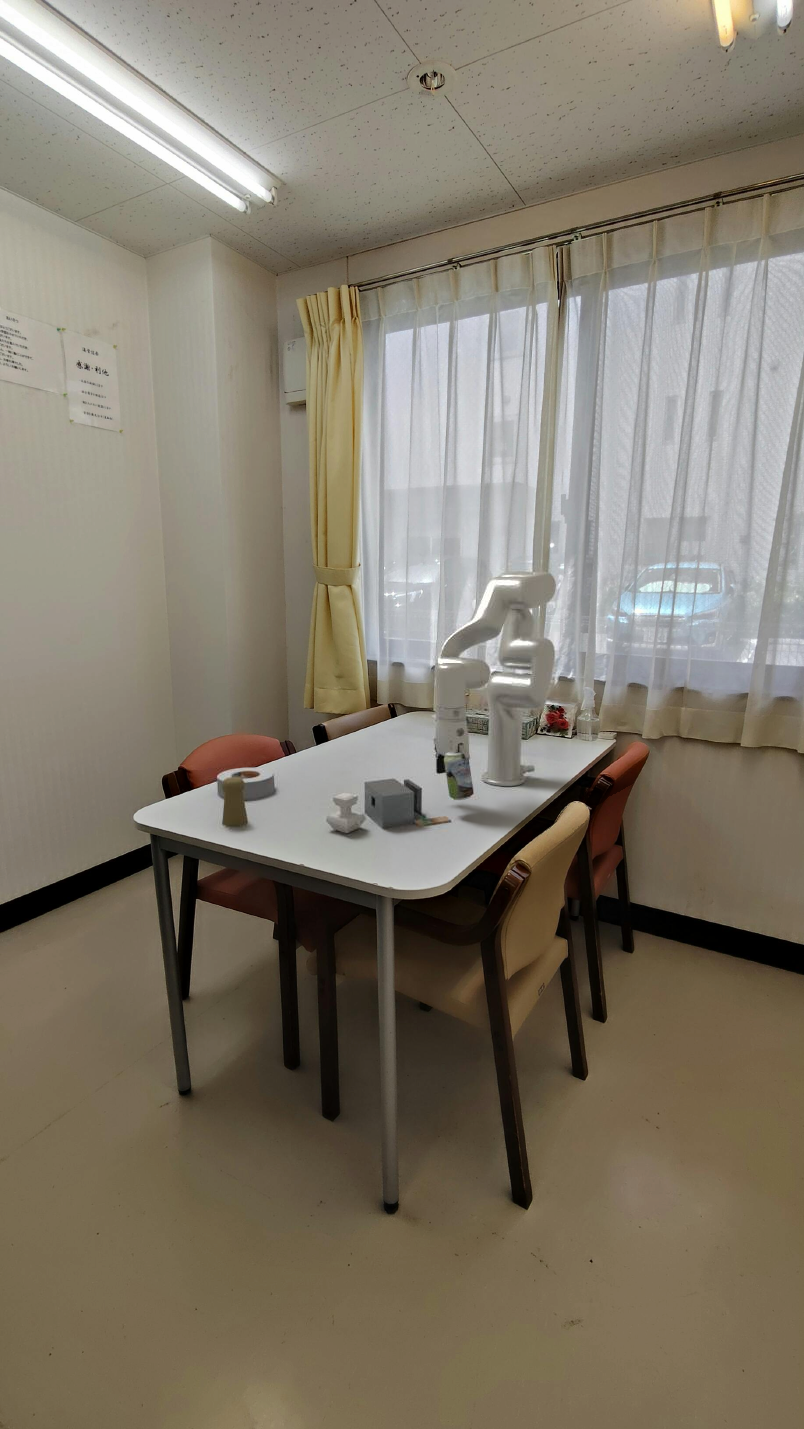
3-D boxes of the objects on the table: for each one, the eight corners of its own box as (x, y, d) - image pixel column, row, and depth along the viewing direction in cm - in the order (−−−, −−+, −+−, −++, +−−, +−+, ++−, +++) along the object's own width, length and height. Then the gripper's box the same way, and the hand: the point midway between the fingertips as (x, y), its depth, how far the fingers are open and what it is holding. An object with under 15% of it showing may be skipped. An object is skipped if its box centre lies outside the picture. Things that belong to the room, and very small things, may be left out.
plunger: (408, 803, 167) (408, 779, 166) (427, 817, 157) (427, 792, 156) (375, 808, 163) (375, 783, 162) (392, 823, 153) (392, 796, 152)
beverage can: (469, 804, 158) (469, 756, 155) (440, 800, 161) (439, 754, 158) (477, 795, 164) (476, 749, 161) (449, 791, 167) (448, 746, 164)
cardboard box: (445, 817, 161) (445, 815, 161) (450, 821, 159) (450, 819, 159) (413, 822, 158) (413, 820, 158) (419, 826, 155) (419, 824, 155)
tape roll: (233, 782, 190) (232, 765, 189) (283, 785, 187) (282, 768, 186) (207, 798, 175) (206, 780, 174) (261, 802, 172) (260, 784, 171)
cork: (234, 828, 154) (232, 783, 152) (216, 823, 157) (214, 779, 155) (253, 820, 159) (251, 777, 157) (235, 816, 162) (233, 773, 160)
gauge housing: (394, 808, 168) (394, 778, 166) (413, 824, 157) (413, 792, 155) (364, 812, 165) (364, 782, 163) (382, 829, 154) (382, 796, 152)
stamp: (370, 829, 153) (369, 795, 152) (351, 838, 148) (350, 803, 147) (341, 821, 159) (340, 788, 157) (322, 829, 153) (321, 795, 152)
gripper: (481, 718, 156) (481, 786, 160) (448, 704, 172) (448, 766, 176) (453, 721, 153) (454, 791, 157) (422, 707, 169) (423, 770, 173)
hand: (451, 778), depth 167 cm, fingers open, 9 cm apart
